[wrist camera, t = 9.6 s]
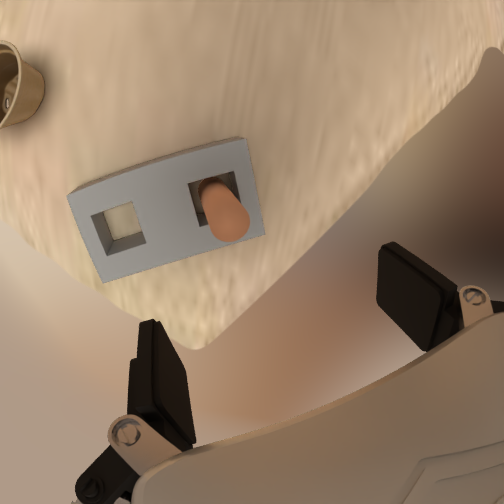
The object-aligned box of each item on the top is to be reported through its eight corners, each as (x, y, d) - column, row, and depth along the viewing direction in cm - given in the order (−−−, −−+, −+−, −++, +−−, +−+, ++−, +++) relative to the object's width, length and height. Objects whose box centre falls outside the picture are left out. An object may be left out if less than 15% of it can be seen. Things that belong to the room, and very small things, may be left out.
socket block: (237, 136, 29) (246, 138, 26) (255, 221, 34) (265, 234, 30) (78, 186, 27) (66, 195, 23) (109, 266, 31) (102, 283, 28)
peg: (221, 173, 30) (245, 198, 21) (228, 199, 32) (253, 235, 22) (194, 180, 30) (205, 209, 20) (201, 206, 31) (215, 247, 22)
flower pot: (-17, 98, 18) (-59, 98, 10) (37, 39, 18) (2, 21, 10) (14, 152, 22) (-28, 165, 15) (71, 94, 22) (37, 86, 15)
